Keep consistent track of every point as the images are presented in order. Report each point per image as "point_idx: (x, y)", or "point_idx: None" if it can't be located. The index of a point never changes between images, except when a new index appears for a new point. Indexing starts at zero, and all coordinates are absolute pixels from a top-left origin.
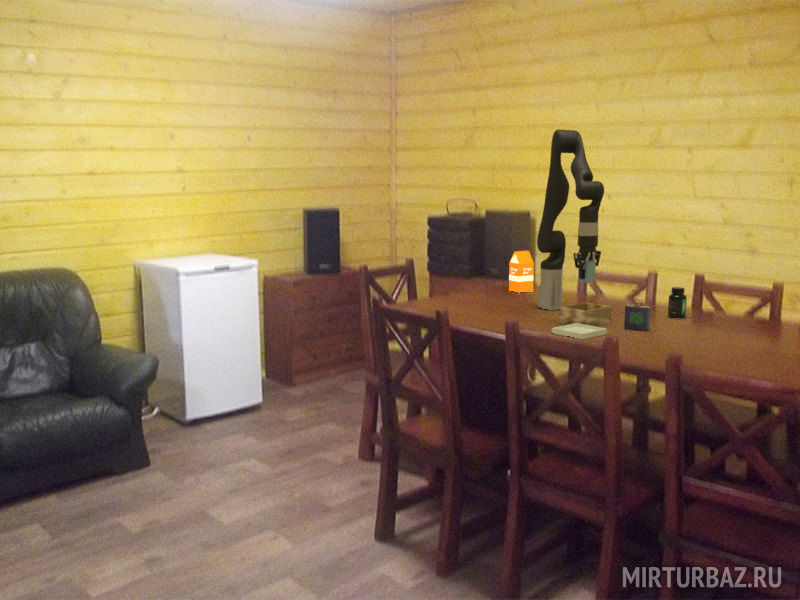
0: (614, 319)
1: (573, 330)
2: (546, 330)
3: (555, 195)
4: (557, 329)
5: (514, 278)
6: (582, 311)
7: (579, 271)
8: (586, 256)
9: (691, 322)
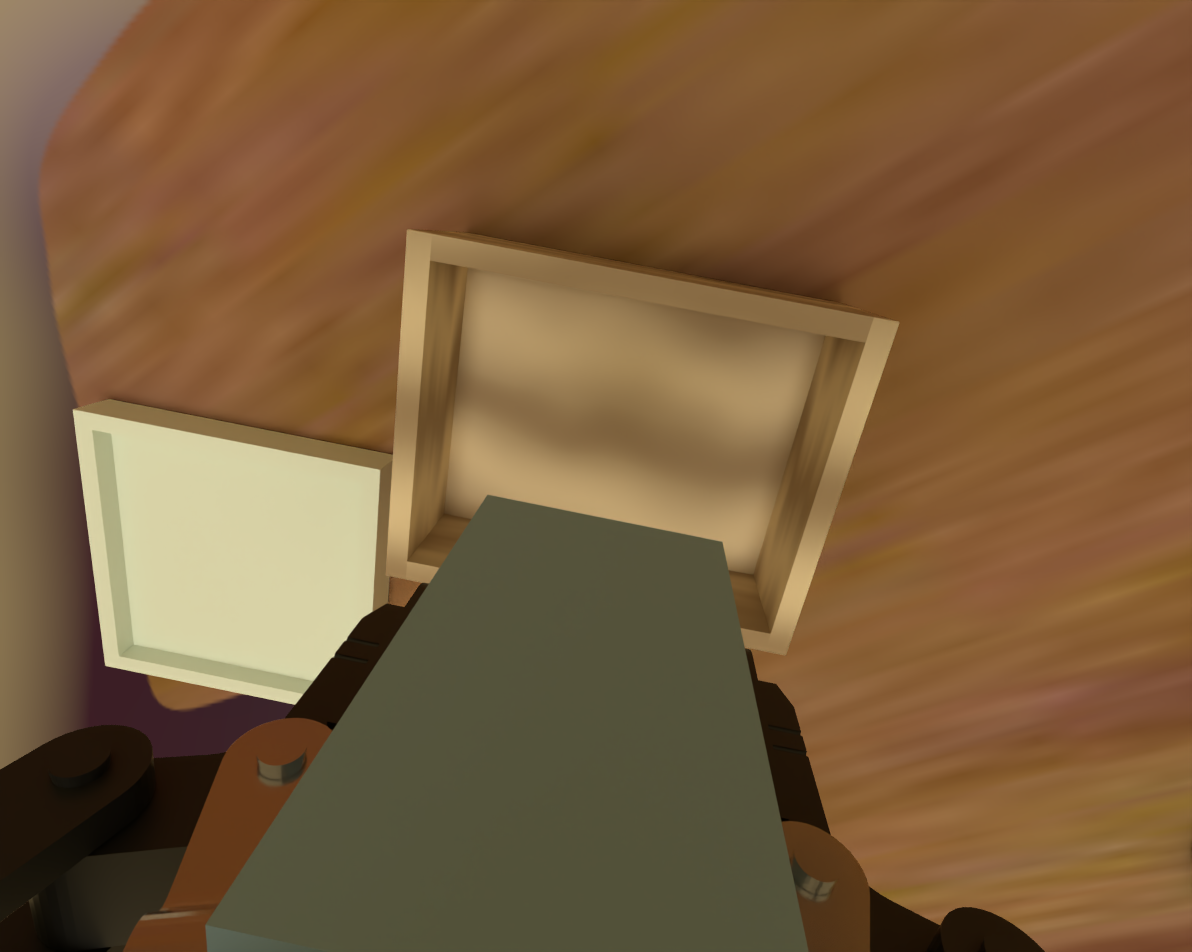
0: (937, 528)
1: (225, 526)
2: (152, 307)
3: None
4: (83, 463)
5: None
6: (390, 536)
7: (300, 701)
8: None
9: (1094, 942)
